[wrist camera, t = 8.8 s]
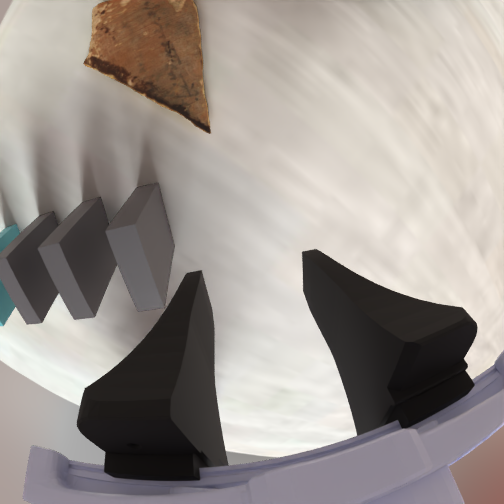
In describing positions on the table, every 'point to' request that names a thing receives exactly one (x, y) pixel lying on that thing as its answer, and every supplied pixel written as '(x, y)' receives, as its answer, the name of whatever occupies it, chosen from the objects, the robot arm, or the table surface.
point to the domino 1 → (3, 304)
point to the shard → (152, 52)
